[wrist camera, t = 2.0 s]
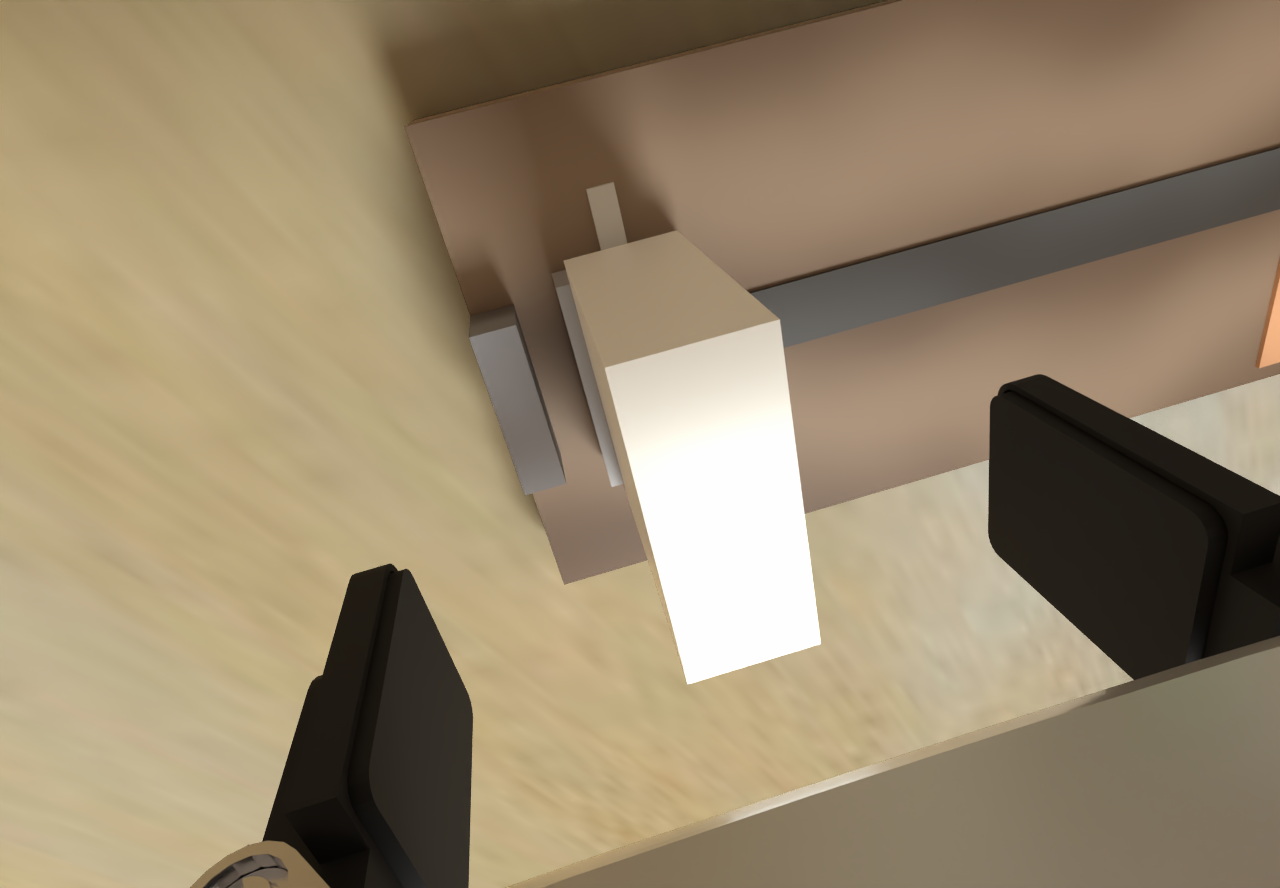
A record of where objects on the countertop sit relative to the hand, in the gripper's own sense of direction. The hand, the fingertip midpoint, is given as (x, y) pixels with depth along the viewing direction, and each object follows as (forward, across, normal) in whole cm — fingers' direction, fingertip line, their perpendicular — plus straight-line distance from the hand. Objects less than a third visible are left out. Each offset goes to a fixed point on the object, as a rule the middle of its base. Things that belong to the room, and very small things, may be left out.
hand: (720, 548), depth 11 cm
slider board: (+9, -9, -1) cm, 13 cm away
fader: (+7, 0, -1) cm, 7 cm away
